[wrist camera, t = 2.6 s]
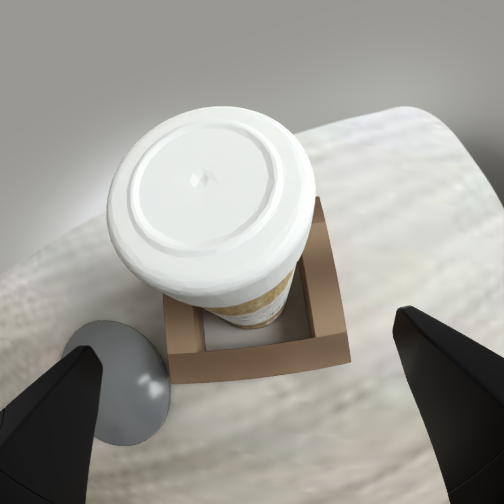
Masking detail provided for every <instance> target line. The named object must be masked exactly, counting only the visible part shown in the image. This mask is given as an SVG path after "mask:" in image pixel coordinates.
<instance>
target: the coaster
mask: <svg viewBox="0 0 504 504" xmlns="http://www.w3.org/2000/svg"><path fill="white" fill-rule="evenodd" d="M78 345H90V346H91V347H92V348H93V349H94V351H95V353H96V354H97V356H98V358H99V359H100V361H101V362H102V365H103V375H102V383H101V392H100V401H99V410H98V416H97V422H96V427H95V433H94V437H96V438H97V439H99V440H101V441H103V442H106V443H109V444H112V445H118V446H130V445H135V444H138V443H141V442H143V441H145V440H146V439H148V438H149V437H151V436H152V435H154V434H155V433H156V432H157V431H158V430H159V429H160V427H161V426H162V424H163V423H164V421H165V418H166V416H167V413H168V410H169V405H170V383H169V379H168V374H167V371H166V368H165V365H164V363H163V361H162V359H161V357H160V355H159V354H158V352H157V351H156V349H155V348H154V347H153V345H152V344H151V343H150V342H149V341H148V340H147V339H146V338H145V337H144V336H143V335H142V334H140V333H139V332H138V331H136V330H135V329H133V328H131V327H129V326H127V325H125V324H121V323H117V322H112V321H97V322H92V323H89V324H87V325H85V326H83V327H82V328H80V329H79V330H78V331H76V332H75V334H74V335H73V336H72V337H71V338H70V340H69V341H68V343H67V345H66V347H65V349H64V352H63V355H62V358H63V357H65V356H66V355H67V354H68V353H69V352H71V351H72V350H73V349H74V348H76V347H77V346H78Z"/></svg>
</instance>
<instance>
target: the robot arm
mask: <svg viewBox="0 0 504 504" xmlns="http://www.w3.org/2000/svg"><path fill="white" fill-rule="evenodd" d="M393 338H394V341H395V344H396V347H397V350H398V353H399V356H400V359H401V363H402V366H403V369H404V373H405V376H406V379H407V382H408V384H409V387H410V389H411V391H412V394H413V396H414V399H415V401H416V404H417V406H418V409H419V411H420V414H421V416H422V419H423V421H424V424H425V427H426V429H427V432H428V435H429V438H430V440H431V443H432V446H433V449H434V452H435V455H436V458H437V461H438V464H439V467H440V470H441V473H442V476H443V479H444V483H445V486H446V489H447V493H448V497H449V501H450V504H504V358H503V357H501V356H500V355H498V354H496V353H494V352H493V351H491V350H489V349H488V348H486V347H484V346H482V345H481V344H479V343H477V342H476V341H474V340H472V339H470V338H469V337H467V336H465V335H463V334H462V333H460V332H458V331H456V330H455V329H453V328H451V327H449V326H447V325H446V324H444V323H442V322H440V321H438V320H437V319H435V318H433V317H431V316H429V315H428V314H426V313H424V312H422V311H420V310H419V309H417V308H415V307H413V306H405V307H400V308H398V309H397V311H396V316H395V321H394V326H393ZM102 375H103V365H102V362H101V361H100V359H99V358H98V356H97V354H96V353H95V351H94V349H93V348H92V347H91V346H90V345H78V346H77V347H76V348H74V349H73V350H72V351H71V352H69V353H68V354H67V355H66V356H65V357H63V358H62V359H61V360H60V361H59V362H57V363H56V364H55V365H54V366H53V367H51V368H50V369H49V370H48V371H47V372H45V373H44V374H43V375H42V376H41V377H39V378H38V379H37V380H36V381H35V382H34V383H32V384H31V385H30V386H29V387H28V388H27V389H25V390H24V391H23V392H22V393H21V394H20V395H18V396H17V397H16V398H15V399H14V400H13V401H12V402H10V403H9V404H8V405H7V406H6V408H4V409H2V410H1V411H0V504H85V503H86V491H87V482H88V473H89V465H90V458H91V451H92V445H93V438H94V433H95V427H96V422H97V416H98V410H99V401H100V392H101V383H102Z"/></svg>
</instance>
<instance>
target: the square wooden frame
mask: <svg viewBox="0 0 504 504" xmlns="http://www.w3.org/2000/svg"><path fill="white" fill-rule="evenodd" d="M298 261H299V267H300V273H301V279H302V285H303V291H304V297H305V303H306V310H307V316H308V323H309V329H310V336H311V338H309V339H303V340H297V341H291V342H284V343H277V344H270V345H263V346H255V347H247V348H238V349H228V350H218V351H207V352H206V346H205V337H204V328H203V318H202V308H201V307H198V306H193V305H189V304H186V303H184V302H181V301H178V300H176V299H174V298H172V297H170V296H168V295H166V294H164V293H163V305H164V319H165V331H166V342H167V352H168V362H169V370H170V379H171V384H191V383H209V382H223V381H235V380H245V379H254V378H263V377H270V376H278V375H285V374H292V373H298V372H304V371H310V370H316V369H321V368H326V367H331V366H336V365H341V364H346V363H351V358H350V350H349V343H348V337H347V330H346V324H345V318H344V312H343V306H342V300H341V295H340V289H339V284H338V279H337V274H336V269H335V264H334V259H333V254H332V249H331V245H330V240H329V236H328V231H327V227H326V223H325V218H324V214H323V210H322V206H321V202H320V198H319V196H318V197H315V205H314V212H313V217H312V223H311V227H310V231H309V235H308V238H307V241H306V244H305V248H304V250H303V252H302V254H301V256H300V258H299V260H298Z"/></svg>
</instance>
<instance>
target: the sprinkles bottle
mask: <svg viewBox="0 0 504 504" xmlns="http://www.w3.org/2000/svg"><path fill="white" fill-rule="evenodd" d="M315 193H316V190H315V179H314V174H313V169H312V166H311V163H310V161H309V158H308V156H307V154H306V153H305V151H304V149H303V147H302V146H301V144H300V143H299V141H298V140H297V139H296V138H295V137H294V135H293V134H292V133H291V132H289V131H288V130H287V129H286V128H285V127H283V126H282V125H281V124H280V123H278V122H276V121H275V120H273V119H272V118H270V117H267V116H265V115H263V114H260V113H258V112H255V111H252V110H248V109H244V108H239V107H229V106H216V107H206V108H200V109H196V110H191V111H188V112H185V113H182V114H179V115H177V116H174V117H172V118H170V119H168V120H166V121H164V122H162V123H161V124H159V125H157V126H156V127H155V128H153V129H152V130H150V131H149V132H148V133H146V134H145V135H144V136H143V137H142V138H141V139H140V140H139V141H138V142H137V143H136V144H135V145H134V146H133V147H132V148H131V149H130V150H129V151H128V153H127V154H126V156H125V157H124V159H123V160H122V161H121V163H120V165H119V167H118V169H117V171H116V173H115V175H114V177H113V180H112V183H111V186H110V190H109V194H108V200H107V224H108V230H109V235H110V238H111V242H112V244H113V246H114V248H115V250H116V252H117V254H118V256H119V257H120V259H121V260H122V261H123V263H124V264H125V265H126V266H127V268H128V269H129V270H130V271H131V272H132V273H133V274H134V275H136V276H137V277H138V278H139V279H140V280H142V281H143V282H145V283H147V284H148V285H150V286H151V287H153V288H155V289H156V290H158V291H160V292H162V293H164V294H166V295H168V296H170V297H172V298H174V299H176V300H178V301H181V302H184V303H186V304H189V305H193V306H198V307H202V308H204V309H206V310H207V311H210V312H212V313H214V314H216V315H217V316H219V317H221V318H223V319H225V320H227V321H229V322H230V323H232V324H233V325H235V326H238V327H240V328H244V329H257V328H262V327H265V326H267V325H269V324H271V323H272V322H274V321H275V319H276V318H278V317H279V316H280V314H281V313H282V311H283V310H284V308H285V305H286V302H287V298H288V293H289V289H290V286H291V283H292V279H293V275H294V271H295V267H296V263H297V261H298V260H299V258H300V256H301V254H302V252H303V250H304V248H305V244H306V241H307V238H308V235H309V231H310V227H311V223H312V217H313V212H314V205H315Z"/></svg>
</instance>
